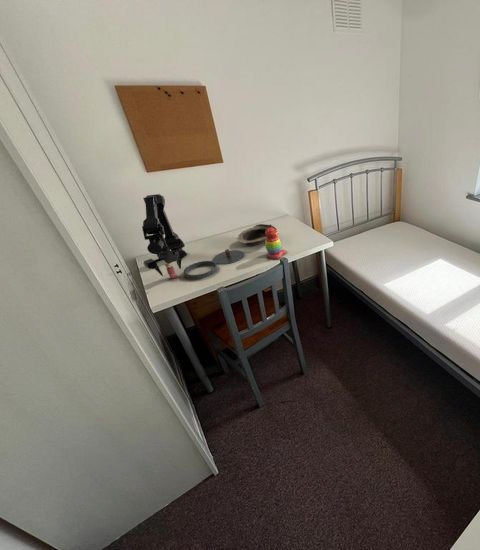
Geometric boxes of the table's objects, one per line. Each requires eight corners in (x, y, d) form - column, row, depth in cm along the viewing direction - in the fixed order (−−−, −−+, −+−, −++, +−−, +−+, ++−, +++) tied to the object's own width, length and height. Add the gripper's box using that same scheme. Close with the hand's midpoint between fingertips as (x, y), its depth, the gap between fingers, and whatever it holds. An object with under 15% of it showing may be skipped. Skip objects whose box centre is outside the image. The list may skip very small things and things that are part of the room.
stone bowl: (283, 236, 205) (281, 224, 200) (266, 254, 186) (263, 241, 180) (252, 232, 210) (249, 221, 205) (232, 250, 190) (228, 237, 185)
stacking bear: (279, 259, 176) (274, 232, 166) (264, 258, 177) (258, 231, 168) (287, 251, 185) (282, 225, 175) (272, 250, 186) (267, 224, 177)
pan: (193, 266, 170) (191, 261, 169) (222, 264, 172) (220, 260, 170) (180, 281, 156) (178, 276, 155) (212, 279, 157) (210, 274, 156)
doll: (172, 276, 160) (165, 260, 155) (179, 276, 161) (173, 260, 155) (168, 280, 157) (161, 264, 152) (176, 280, 157) (169, 264, 152)
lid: (219, 252, 185) (216, 244, 182) (247, 251, 186) (245, 243, 183) (209, 266, 170) (206, 257, 167) (239, 264, 171) (237, 255, 168)
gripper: (147, 257, 138) (159, 284, 146) (186, 243, 151) (196, 269, 159) (137, 251, 144) (149, 278, 152) (176, 238, 157) (185, 263, 165)
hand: (171, 272), depth 157 cm, fingers open, 9 cm apart
